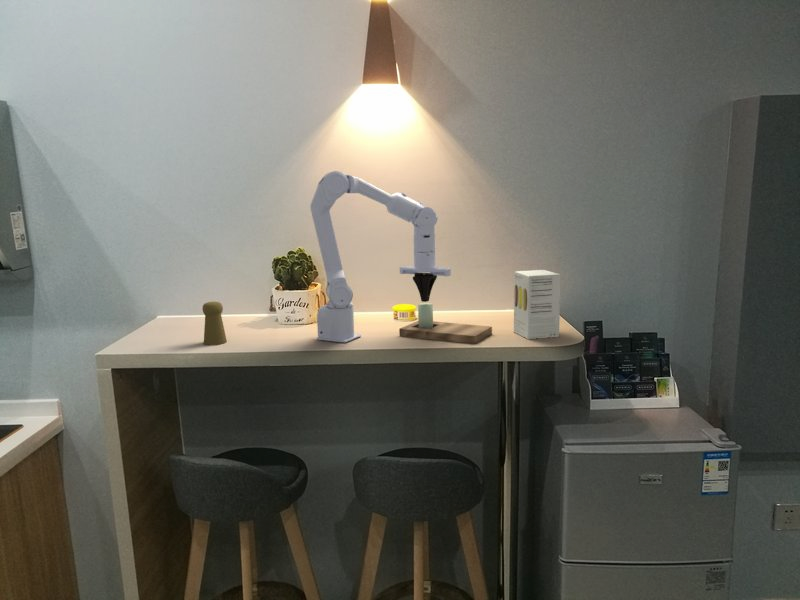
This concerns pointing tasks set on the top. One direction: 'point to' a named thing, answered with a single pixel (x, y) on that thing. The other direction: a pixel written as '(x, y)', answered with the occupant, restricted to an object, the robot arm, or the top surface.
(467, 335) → the walnut board
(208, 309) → the cork
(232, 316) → the top surface
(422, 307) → the peg
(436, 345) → the top surface
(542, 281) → the supplement box
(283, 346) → the top surface
